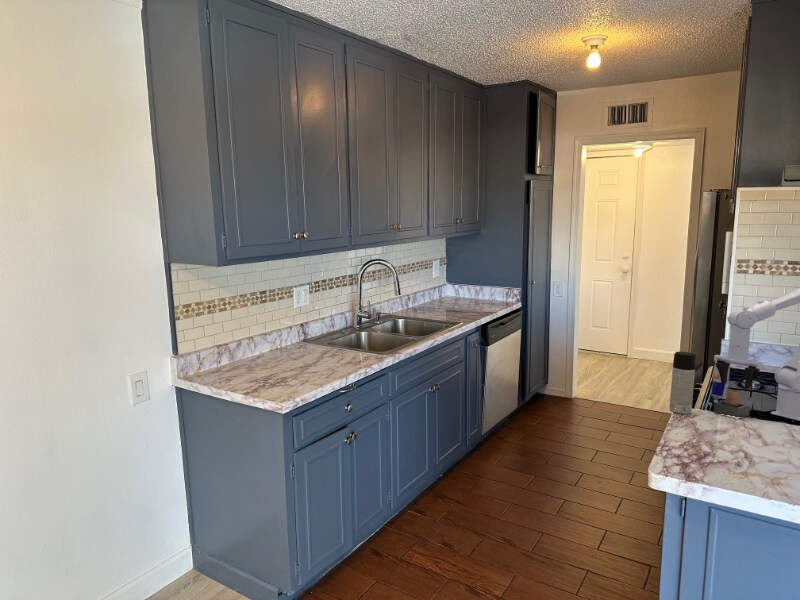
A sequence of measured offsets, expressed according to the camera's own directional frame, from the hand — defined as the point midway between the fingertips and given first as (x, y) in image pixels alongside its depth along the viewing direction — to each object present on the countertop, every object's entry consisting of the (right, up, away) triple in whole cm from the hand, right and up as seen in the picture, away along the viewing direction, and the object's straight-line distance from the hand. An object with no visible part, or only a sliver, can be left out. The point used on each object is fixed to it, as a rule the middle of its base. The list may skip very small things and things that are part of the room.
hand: (735, 385), depth 187 cm
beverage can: (+5, -8, +19) cm, 21 cm away
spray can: (-18, -9, 0) cm, 20 cm away
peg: (-2, -9, -1) cm, 10 cm away
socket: (-2, -9, -1) cm, 10 cm away
